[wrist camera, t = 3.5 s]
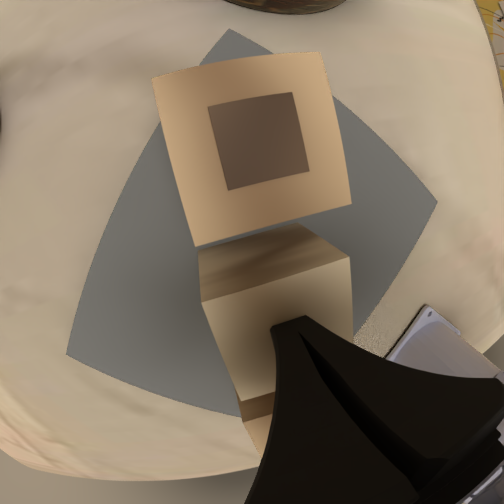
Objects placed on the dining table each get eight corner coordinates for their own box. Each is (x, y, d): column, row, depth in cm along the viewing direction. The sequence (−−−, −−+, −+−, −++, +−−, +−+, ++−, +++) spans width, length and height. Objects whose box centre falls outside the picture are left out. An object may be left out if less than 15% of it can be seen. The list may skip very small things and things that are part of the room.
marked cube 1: (275, 86, 11) (321, 51, 6) (298, 186, 13) (353, 204, 8) (166, 109, 11) (149, 78, 6) (193, 214, 12) (193, 248, 8)
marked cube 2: (308, 331, 16) (346, 388, 11) (315, 383, 18) (344, 434, 13) (227, 357, 15) (241, 424, 11) (247, 405, 17) (263, 463, 13)
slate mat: (427, 198, 16) (437, 201, 15) (272, 414, 19) (275, 423, 19) (226, 36, 11) (229, 28, 10) (70, 345, 14) (66, 354, 13)
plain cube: (297, 222, 13) (349, 256, 9) (311, 306, 15) (353, 361, 11) (197, 250, 13) (201, 302, 8) (225, 333, 15) (241, 401, 10)
